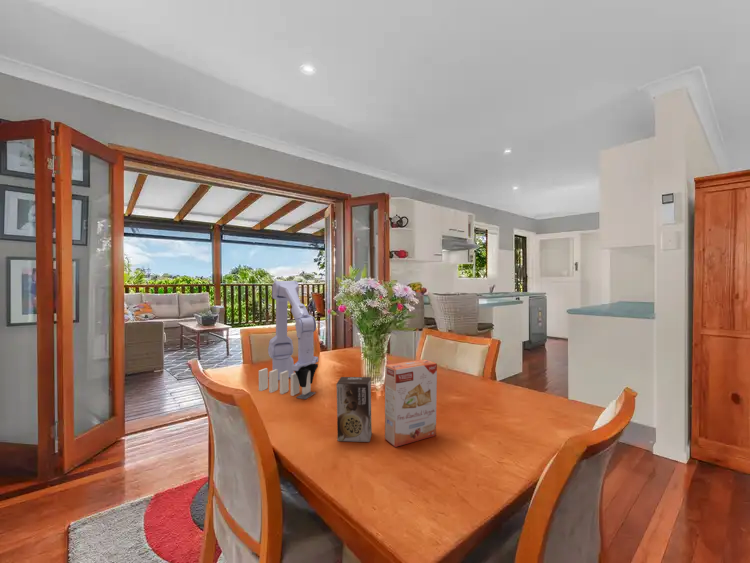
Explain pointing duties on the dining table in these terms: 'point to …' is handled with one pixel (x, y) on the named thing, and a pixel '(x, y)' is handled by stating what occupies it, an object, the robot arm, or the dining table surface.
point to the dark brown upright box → (354, 409)
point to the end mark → (306, 395)
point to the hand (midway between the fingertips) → (306, 385)
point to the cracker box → (410, 401)
